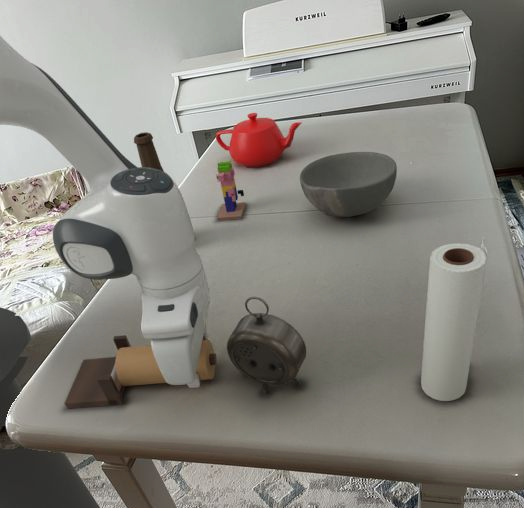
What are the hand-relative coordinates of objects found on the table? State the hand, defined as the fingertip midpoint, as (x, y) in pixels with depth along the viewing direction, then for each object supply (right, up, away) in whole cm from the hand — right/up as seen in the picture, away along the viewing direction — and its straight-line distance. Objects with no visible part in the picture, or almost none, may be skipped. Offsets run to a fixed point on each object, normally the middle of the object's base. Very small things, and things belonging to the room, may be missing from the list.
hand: (199, 362), depth 80 cm
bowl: (+29, +33, +35) cm, 56 cm away
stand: (-16, -4, +4) cm, 17 cm away
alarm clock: (+11, -3, -2) cm, 12 cm away
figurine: (+2, +34, +43) cm, 55 cm away
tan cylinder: (-5, -2, +2) cm, 6 cm away
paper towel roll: (+36, -3, -7) cm, 36 cm away
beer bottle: (-10, +25, +36) cm, 45 cm away
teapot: (+10, +55, +65) cm, 85 cm away
